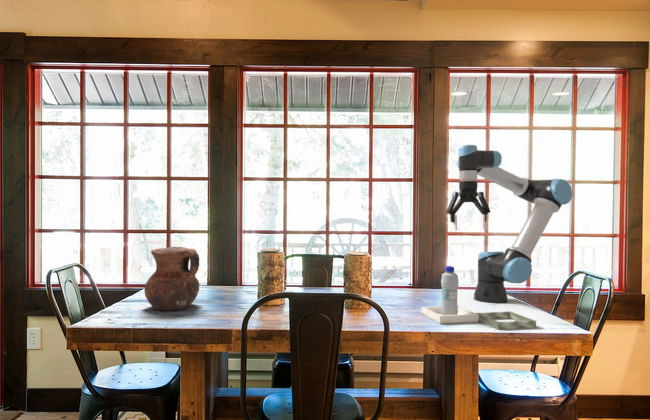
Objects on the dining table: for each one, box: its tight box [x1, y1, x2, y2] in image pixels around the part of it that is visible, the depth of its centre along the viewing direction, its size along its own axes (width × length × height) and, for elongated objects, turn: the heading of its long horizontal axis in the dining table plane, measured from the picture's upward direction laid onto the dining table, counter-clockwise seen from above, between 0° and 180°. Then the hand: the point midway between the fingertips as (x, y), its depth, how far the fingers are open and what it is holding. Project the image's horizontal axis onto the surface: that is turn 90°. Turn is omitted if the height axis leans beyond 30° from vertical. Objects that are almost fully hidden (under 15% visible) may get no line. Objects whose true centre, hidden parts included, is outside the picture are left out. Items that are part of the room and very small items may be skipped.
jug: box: [143, 246, 200, 311], centre depth 193 cm, size 22×21×25 cm
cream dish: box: [421, 305, 480, 325], centre depth 179 cm, size 16×16×3 cm
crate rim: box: [475, 310, 537, 331], centre depth 172 cm, size 16×16×2 cm
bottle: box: [440, 265, 460, 315], centre depth 179 cm, size 7×7×20 cm
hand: (468, 229), depth 198 cm, fingers open, 13 cm apart
